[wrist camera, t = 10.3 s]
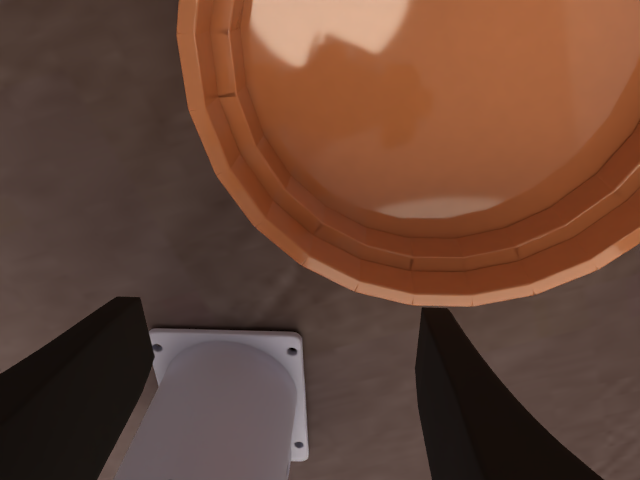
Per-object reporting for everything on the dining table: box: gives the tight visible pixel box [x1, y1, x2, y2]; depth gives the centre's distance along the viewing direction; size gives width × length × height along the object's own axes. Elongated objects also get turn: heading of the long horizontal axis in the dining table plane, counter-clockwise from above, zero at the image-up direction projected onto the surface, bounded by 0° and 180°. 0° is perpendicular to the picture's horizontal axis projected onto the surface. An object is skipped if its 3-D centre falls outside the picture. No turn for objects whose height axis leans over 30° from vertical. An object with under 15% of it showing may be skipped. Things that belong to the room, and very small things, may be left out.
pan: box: [176, 0, 640, 307], centre depth 16 cm, size 18×18×4 cm
